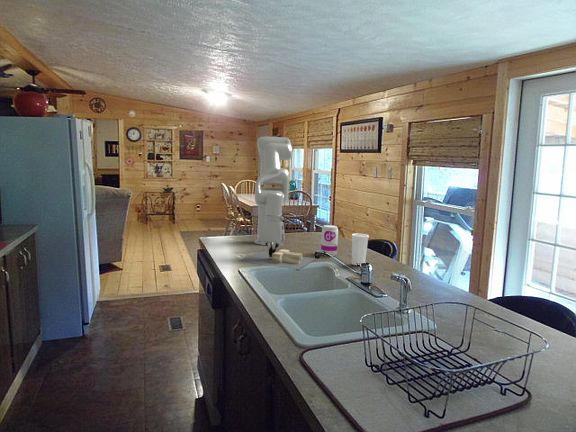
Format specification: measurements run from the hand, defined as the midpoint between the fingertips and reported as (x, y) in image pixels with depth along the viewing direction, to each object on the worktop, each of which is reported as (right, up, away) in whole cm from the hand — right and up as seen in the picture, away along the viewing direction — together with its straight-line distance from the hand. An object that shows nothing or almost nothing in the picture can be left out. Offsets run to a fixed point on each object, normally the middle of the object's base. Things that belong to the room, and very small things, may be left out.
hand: (272, 256), depth 207 cm
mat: (+3, -2, -1) cm, 3 cm away
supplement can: (+28, -1, +15) cm, 32 cm away
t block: (+8, -2, -3) cm, 9 cm away
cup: (+41, -4, -3) cm, 41 cm away
